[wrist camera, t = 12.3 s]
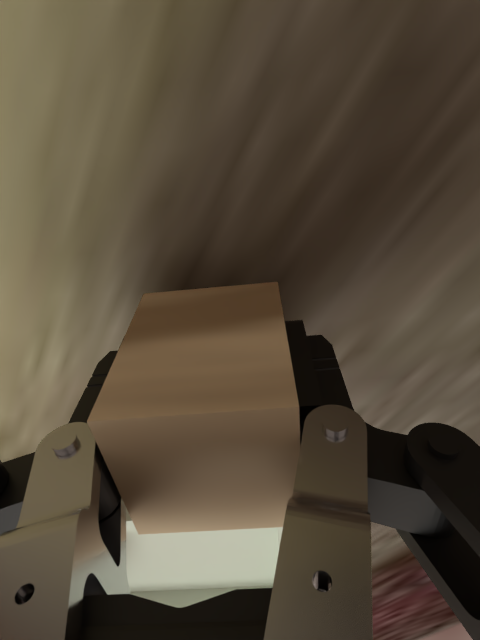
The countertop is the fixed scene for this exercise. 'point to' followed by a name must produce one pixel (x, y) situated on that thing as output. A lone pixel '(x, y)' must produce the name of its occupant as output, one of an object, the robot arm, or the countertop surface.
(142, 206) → the countertop surface
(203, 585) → the tray
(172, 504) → the maple block
